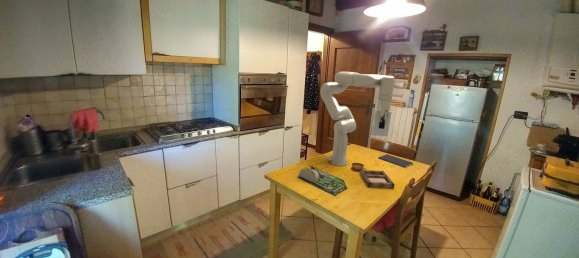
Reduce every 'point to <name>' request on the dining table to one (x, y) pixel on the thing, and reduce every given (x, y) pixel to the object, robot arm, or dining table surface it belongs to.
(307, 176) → the green board with half-disc
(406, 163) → the notebook
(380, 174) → the brown wooden tray
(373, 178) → the offcut top
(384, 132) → the acrylic panel
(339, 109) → the robot arm
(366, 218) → the dining table surface
